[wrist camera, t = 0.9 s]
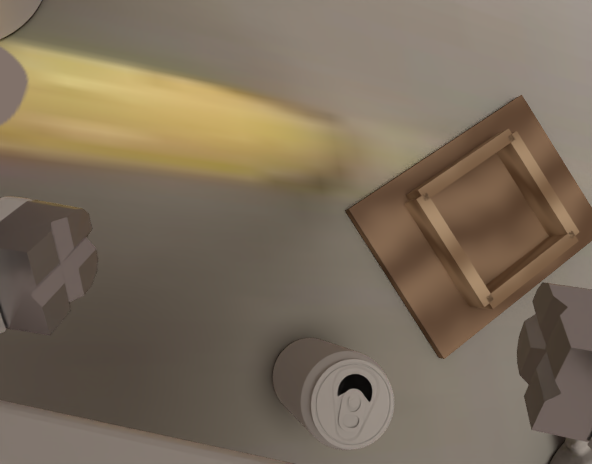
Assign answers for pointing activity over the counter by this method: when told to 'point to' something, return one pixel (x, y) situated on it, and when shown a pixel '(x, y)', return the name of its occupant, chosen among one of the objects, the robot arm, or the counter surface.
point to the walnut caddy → (475, 225)
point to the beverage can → (334, 392)
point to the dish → (573, 453)
